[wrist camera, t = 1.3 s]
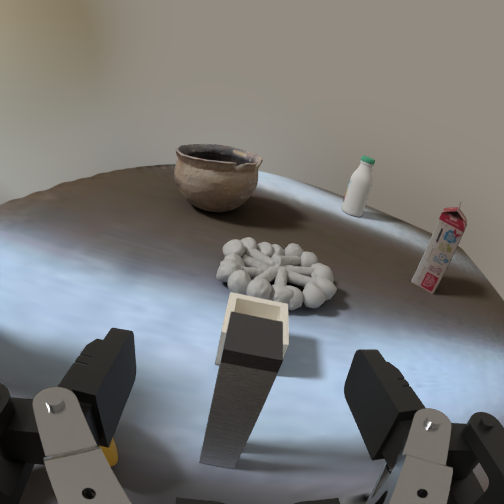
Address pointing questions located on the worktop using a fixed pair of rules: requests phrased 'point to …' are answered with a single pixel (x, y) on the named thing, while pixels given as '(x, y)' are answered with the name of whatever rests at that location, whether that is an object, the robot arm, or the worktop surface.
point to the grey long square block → (241, 386)
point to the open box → (257, 309)
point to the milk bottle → (359, 188)
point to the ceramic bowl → (216, 176)
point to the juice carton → (440, 249)
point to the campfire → (276, 273)
